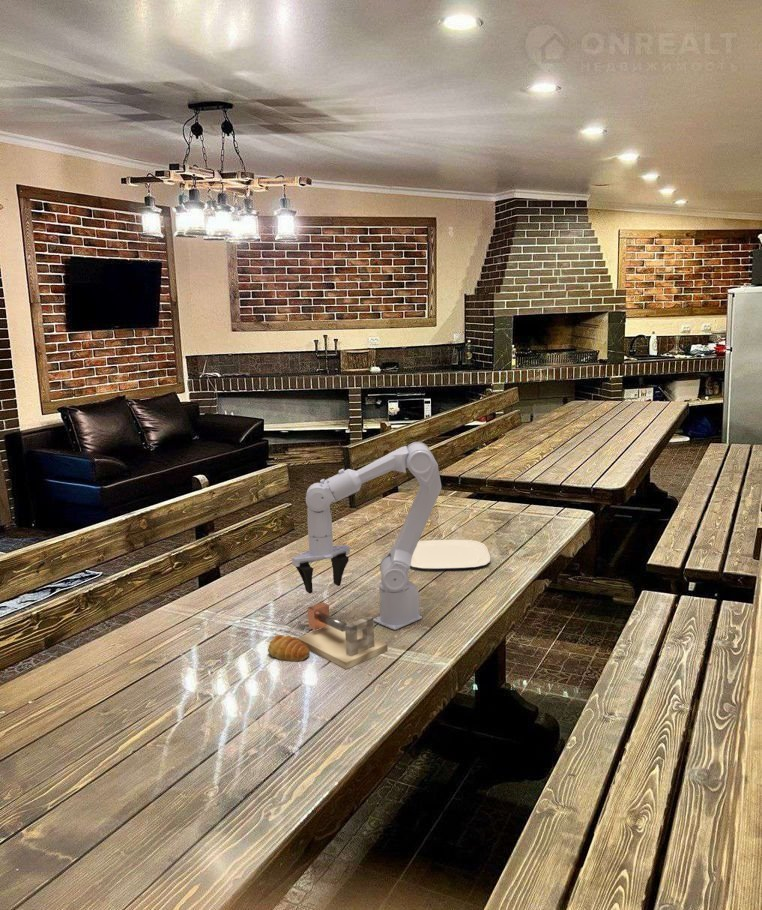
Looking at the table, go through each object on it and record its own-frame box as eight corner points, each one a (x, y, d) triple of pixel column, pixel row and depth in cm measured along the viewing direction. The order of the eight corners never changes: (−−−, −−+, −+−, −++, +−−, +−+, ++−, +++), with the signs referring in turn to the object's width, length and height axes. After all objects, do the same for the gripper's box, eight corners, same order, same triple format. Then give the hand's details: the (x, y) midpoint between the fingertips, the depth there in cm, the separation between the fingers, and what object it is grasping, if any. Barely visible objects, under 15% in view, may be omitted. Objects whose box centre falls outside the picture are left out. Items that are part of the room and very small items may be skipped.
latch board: (337, 627, 183) (336, 595, 182) (387, 650, 171) (386, 616, 169) (297, 644, 176) (295, 610, 174) (346, 669, 163) (344, 633, 161)
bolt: (323, 621, 181) (322, 602, 180) (351, 634, 173) (350, 614, 172) (308, 627, 178) (307, 607, 177) (336, 640, 170) (335, 620, 169)
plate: (494, 571, 217) (494, 566, 217) (405, 574, 218) (405, 568, 218) (484, 543, 242) (484, 538, 242) (404, 545, 243) (404, 540, 242)
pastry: (316, 653, 171) (315, 637, 170) (298, 666, 165) (297, 650, 165) (283, 645, 176) (282, 629, 175) (264, 657, 170) (263, 641, 169)
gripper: (300, 544, 173) (303, 600, 176) (355, 532, 181) (357, 586, 184) (286, 536, 179) (290, 591, 182) (340, 525, 187) (343, 577, 190)
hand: (323, 588), depth 183 cm, fingers open, 7 cm apart
